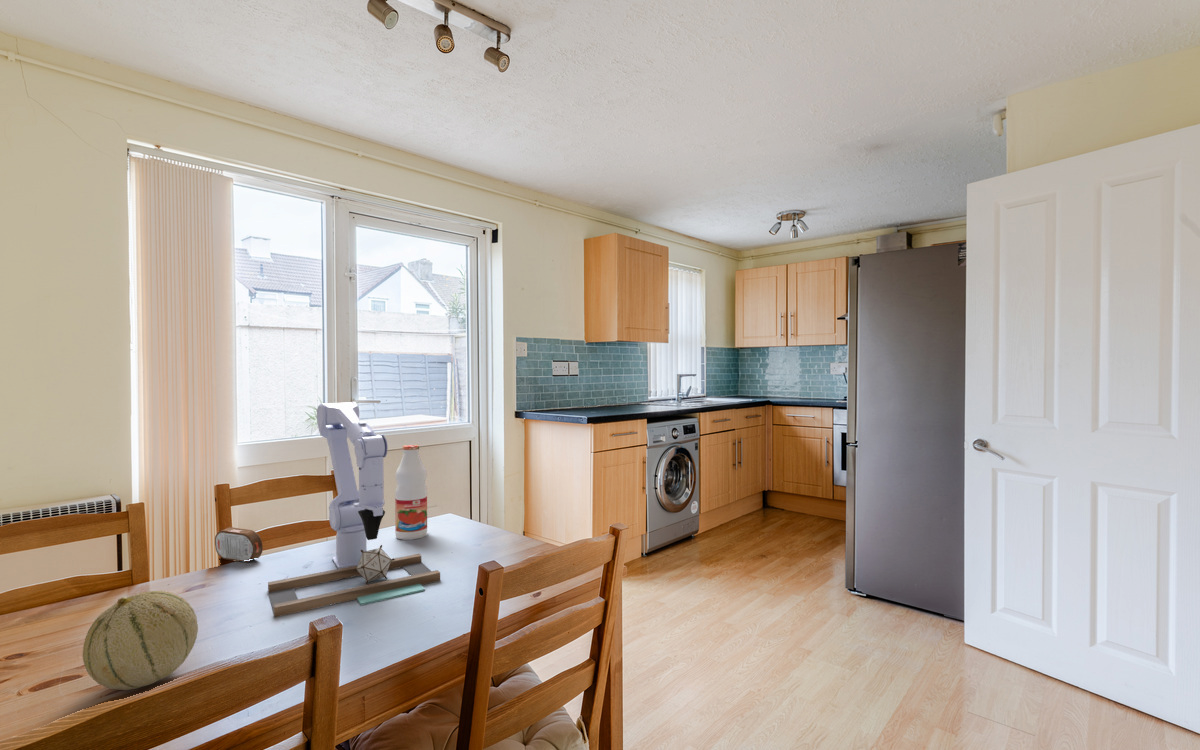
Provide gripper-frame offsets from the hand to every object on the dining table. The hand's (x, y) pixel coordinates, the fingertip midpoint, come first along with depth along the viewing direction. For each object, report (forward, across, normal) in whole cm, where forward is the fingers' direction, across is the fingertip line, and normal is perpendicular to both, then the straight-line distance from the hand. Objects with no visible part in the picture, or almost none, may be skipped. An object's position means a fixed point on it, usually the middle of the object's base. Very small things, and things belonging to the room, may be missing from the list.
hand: (371, 538), depth 139 cm
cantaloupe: (+10, +28, -42) cm, 51 cm away
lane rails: (+9, +4, -4) cm, 11 cm away
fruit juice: (+10, -29, +18) cm, 35 cm away
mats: (+9, +4, -4) cm, 11 cm away
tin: (+10, -34, -27) cm, 44 cm away
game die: (+10, +3, 0) cm, 10 cm away
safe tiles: (+9, +4, +1) cm, 10 cm away
